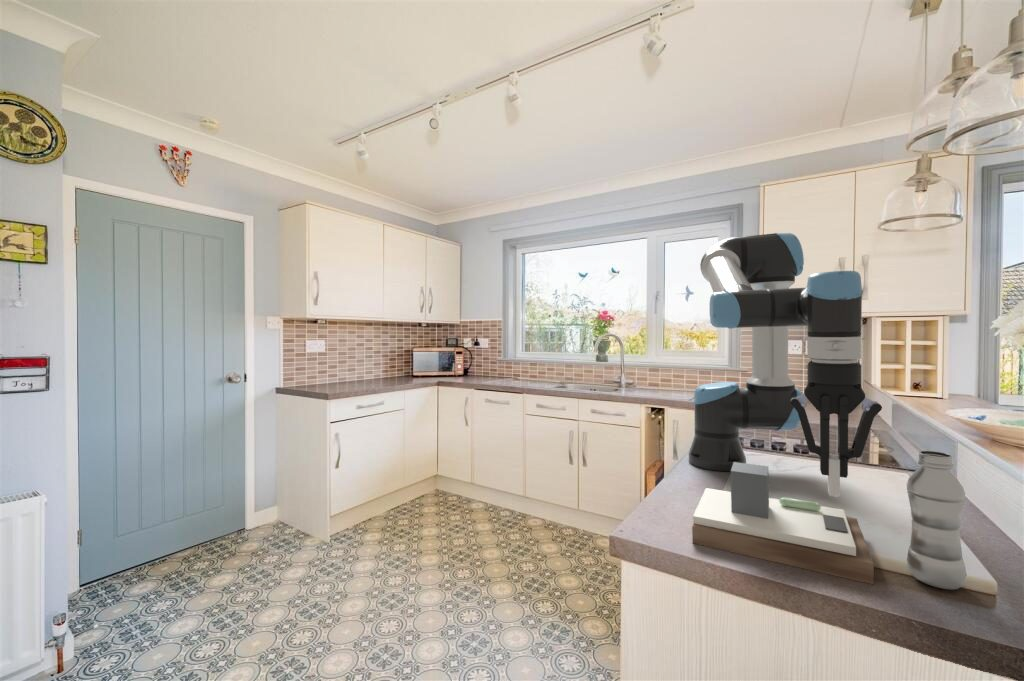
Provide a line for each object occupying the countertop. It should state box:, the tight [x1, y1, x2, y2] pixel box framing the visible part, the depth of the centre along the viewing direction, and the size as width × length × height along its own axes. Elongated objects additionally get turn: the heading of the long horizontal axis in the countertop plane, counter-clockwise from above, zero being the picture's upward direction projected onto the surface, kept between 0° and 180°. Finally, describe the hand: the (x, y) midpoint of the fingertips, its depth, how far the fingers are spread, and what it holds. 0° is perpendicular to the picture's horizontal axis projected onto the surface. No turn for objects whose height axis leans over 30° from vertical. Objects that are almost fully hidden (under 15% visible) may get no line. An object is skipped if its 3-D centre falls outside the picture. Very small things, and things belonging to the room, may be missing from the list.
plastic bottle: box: [906, 450, 967, 591], centre depth 65 cm, size 6×7×20 cm
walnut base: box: [691, 516, 875, 585], centre depth 80 cm, size 18×26×3 cm
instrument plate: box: [692, 462, 856, 556], centre depth 80 cm, size 16×24×9 cm, turn 58°
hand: (833, 493), depth 75 cm, fingers closed
